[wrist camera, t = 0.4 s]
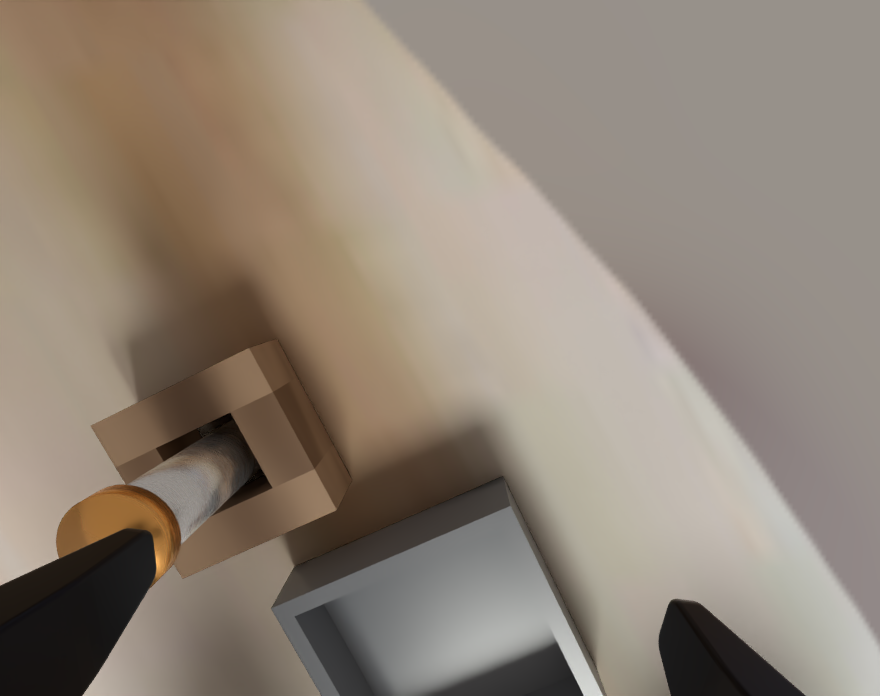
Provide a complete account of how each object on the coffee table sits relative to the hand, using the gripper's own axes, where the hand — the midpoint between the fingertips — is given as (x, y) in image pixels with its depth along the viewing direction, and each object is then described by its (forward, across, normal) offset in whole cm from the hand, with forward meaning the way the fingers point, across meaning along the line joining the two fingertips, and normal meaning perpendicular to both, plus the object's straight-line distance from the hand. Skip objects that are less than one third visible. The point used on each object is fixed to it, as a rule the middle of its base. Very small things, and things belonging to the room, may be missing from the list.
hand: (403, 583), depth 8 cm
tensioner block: (+13, +10, +6) cm, 17 cm away
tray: (+12, -1, +14) cm, 19 cm away
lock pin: (+13, +10, +6) cm, 17 cm away
